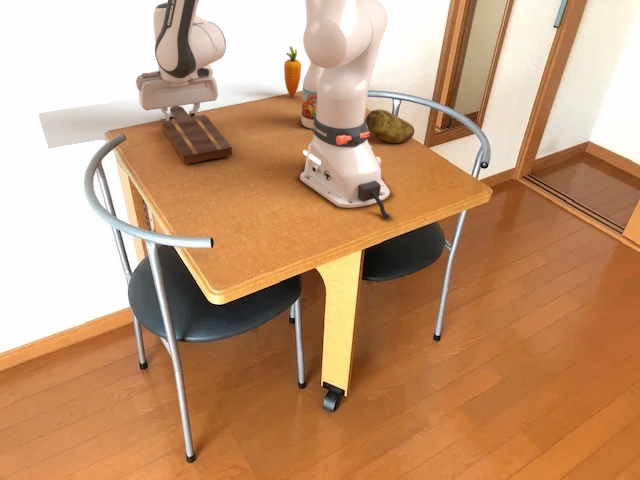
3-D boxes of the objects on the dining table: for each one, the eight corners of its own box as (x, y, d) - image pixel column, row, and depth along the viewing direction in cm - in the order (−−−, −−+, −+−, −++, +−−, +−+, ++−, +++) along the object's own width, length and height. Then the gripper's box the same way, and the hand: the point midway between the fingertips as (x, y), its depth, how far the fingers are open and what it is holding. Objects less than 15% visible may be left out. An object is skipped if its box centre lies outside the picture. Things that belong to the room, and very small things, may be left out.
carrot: (299, 101, 166) (301, 51, 157) (282, 100, 166) (283, 50, 157) (300, 94, 170) (302, 45, 161) (284, 93, 170) (285, 44, 161)
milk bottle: (296, 119, 156) (299, 48, 144) (321, 116, 159) (325, 46, 147) (307, 131, 150) (311, 58, 138) (333, 127, 153) (338, 55, 141)
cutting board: (232, 158, 136) (231, 146, 134) (184, 167, 131) (183, 155, 129) (196, 113, 156) (196, 102, 154) (154, 119, 151) (152, 108, 149)
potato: (408, 151, 145) (413, 122, 140) (361, 141, 147) (364, 113, 142) (414, 137, 151) (418, 110, 146) (368, 129, 154) (371, 102, 149)
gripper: (138, 78, 134) (145, 130, 142) (218, 68, 142) (221, 118, 150) (131, 69, 138) (139, 120, 146) (210, 60, 146) (213, 109, 155)
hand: (181, 119), depth 148 cm, fingers open, 5 cm apart
